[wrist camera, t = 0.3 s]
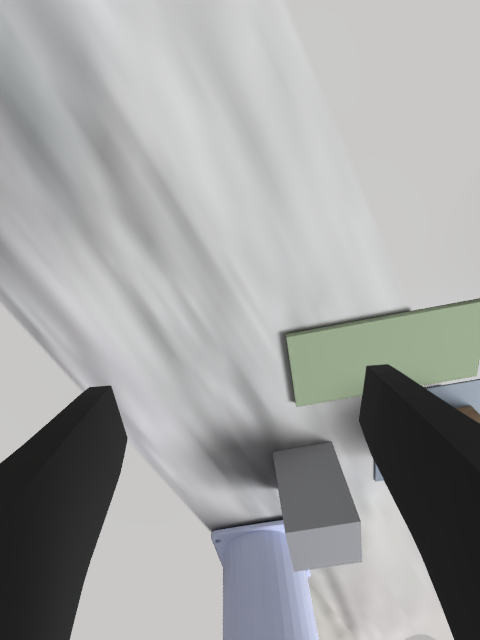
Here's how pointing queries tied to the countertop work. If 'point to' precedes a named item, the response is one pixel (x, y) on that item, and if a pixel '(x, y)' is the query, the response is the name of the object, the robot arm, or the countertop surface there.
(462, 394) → the blue card
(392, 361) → the rubber mat
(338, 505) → the grey block
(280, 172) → the countertop surface
